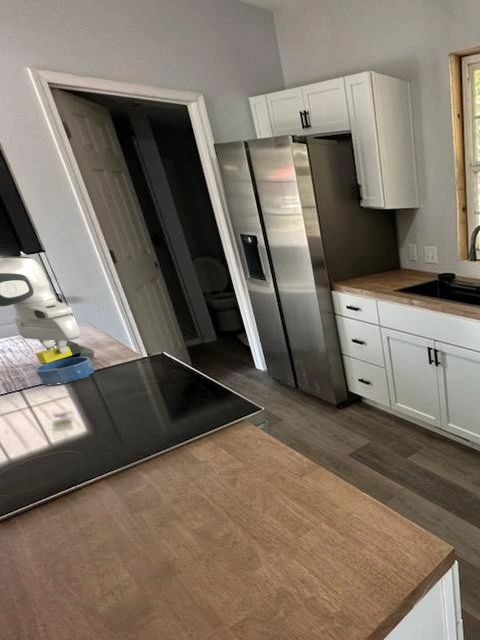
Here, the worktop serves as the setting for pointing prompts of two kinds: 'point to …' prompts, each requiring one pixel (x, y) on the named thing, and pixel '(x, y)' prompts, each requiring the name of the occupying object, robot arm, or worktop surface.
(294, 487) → the worktop surface
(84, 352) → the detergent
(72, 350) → the block
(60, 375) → the bowl
